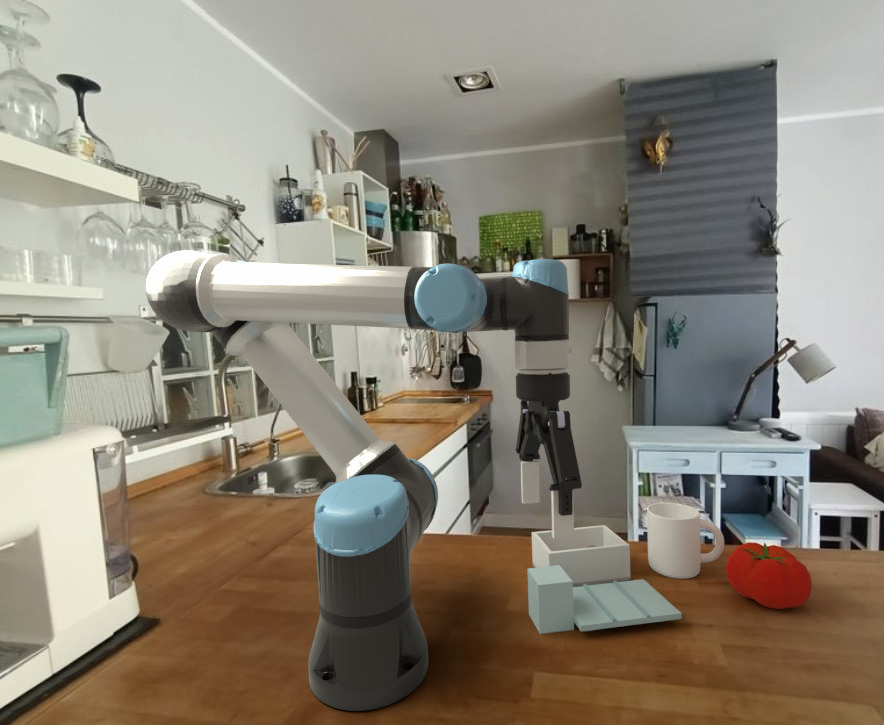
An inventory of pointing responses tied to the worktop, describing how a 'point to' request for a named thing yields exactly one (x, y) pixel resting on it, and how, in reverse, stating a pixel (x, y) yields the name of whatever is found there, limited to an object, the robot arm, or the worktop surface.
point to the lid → (592, 603)
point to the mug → (678, 540)
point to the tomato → (768, 575)
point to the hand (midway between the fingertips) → (545, 518)
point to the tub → (584, 555)
